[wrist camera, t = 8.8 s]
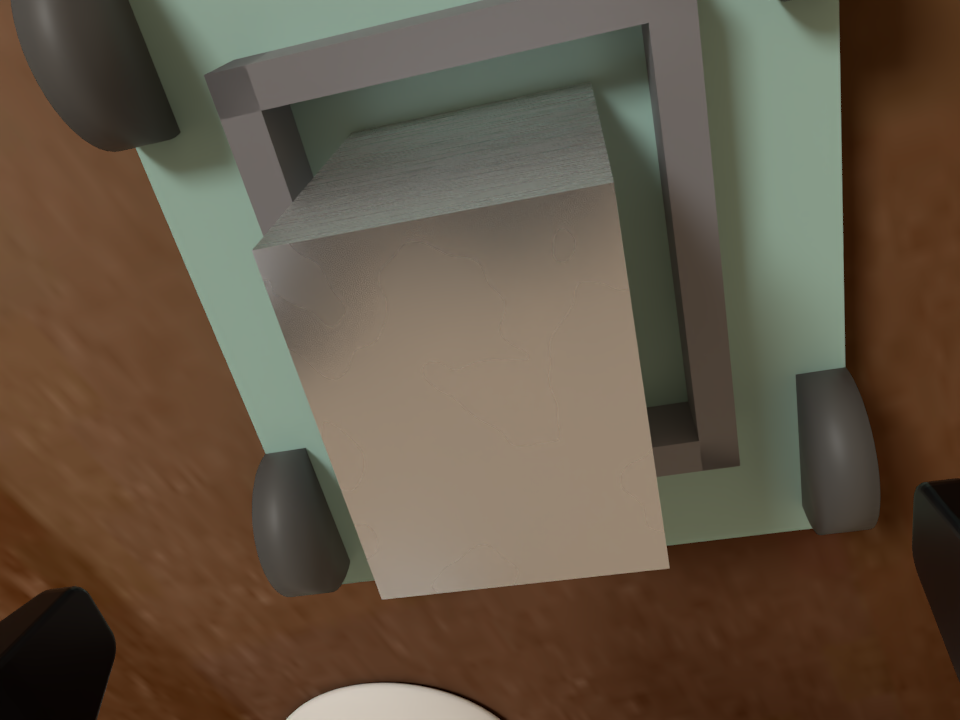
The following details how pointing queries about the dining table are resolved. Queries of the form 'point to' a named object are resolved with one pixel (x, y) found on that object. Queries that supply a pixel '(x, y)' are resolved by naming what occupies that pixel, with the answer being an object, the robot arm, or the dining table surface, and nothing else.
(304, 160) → the chassis
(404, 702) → the wineglass
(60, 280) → the dining table surface
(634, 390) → the white block
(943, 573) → the robot arm
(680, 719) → the dining table surface
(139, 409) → the dining table surface
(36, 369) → the dining table surface
